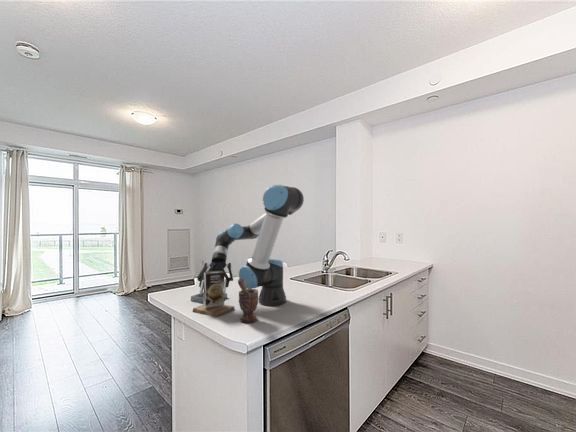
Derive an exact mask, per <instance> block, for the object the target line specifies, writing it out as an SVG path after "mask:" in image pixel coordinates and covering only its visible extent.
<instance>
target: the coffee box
mask: <svg viewBox="0 0 576 432" xmlns="http://www.w3.org/2000/svg"><path fill="white" fill-rule="evenodd" d="M224 282H225V277H224V272H223V271H211V272H207V271H206V272H204V289H203V292H204V297H203V298H204V303H203V305H205V307H212V306H219V305H225V299H224V293H223V288H224Z"/></svg>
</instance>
